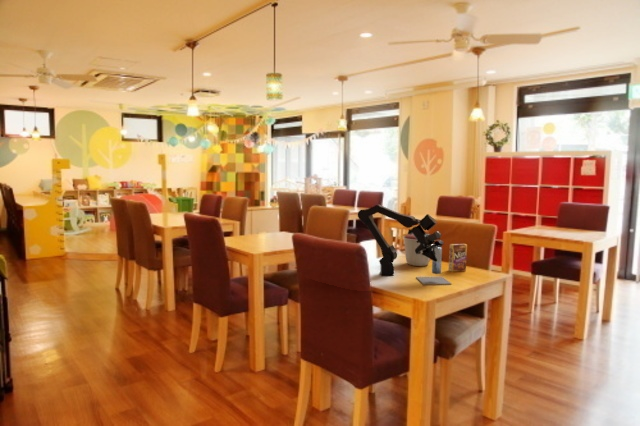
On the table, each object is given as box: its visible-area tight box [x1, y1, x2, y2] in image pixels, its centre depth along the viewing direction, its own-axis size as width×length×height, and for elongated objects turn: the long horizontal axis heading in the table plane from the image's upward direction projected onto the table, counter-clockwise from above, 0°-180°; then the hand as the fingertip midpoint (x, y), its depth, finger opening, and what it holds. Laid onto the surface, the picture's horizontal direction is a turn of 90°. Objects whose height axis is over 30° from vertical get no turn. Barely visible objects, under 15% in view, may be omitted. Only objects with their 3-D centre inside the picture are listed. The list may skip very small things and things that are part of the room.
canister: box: [402, 233, 431, 267], centre depth 266 cm, size 18×18×21 cm
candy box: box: [448, 243, 468, 272], centre depth 250 cm, size 9×4×15 cm, turn 103°
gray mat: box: [415, 276, 452, 286], centre depth 227 cm, size 14×14×1 cm
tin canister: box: [431, 246, 443, 275], centre depth 224 cm, size 4×4×13 cm
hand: (439, 260), depth 223 cm, fingers closed on tin canister, 4 cm apart
